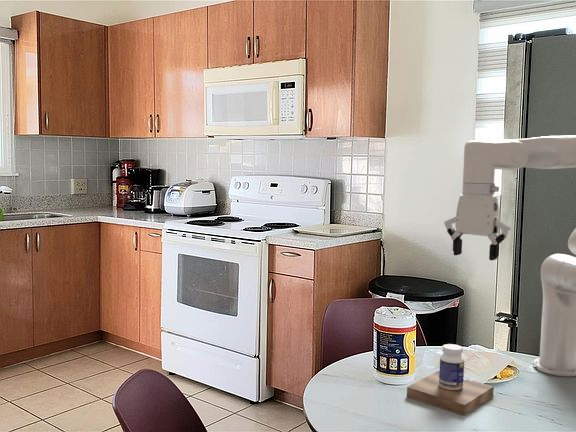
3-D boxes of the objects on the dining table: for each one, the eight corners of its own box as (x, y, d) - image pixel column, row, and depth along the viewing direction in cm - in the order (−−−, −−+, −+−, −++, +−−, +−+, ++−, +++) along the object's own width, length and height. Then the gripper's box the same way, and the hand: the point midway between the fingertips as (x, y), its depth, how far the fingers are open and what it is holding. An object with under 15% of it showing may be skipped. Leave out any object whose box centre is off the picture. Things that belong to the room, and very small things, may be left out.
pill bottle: (464, 392, 149) (465, 351, 148) (439, 390, 150) (440, 349, 149) (462, 383, 154) (463, 343, 153) (438, 381, 155) (439, 342, 154)
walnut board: (437, 380, 163) (438, 370, 163) (493, 396, 153) (493, 386, 153) (406, 396, 152) (407, 386, 152) (464, 415, 142) (464, 404, 142)
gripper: (517, 191, 155) (514, 259, 157) (453, 187, 167) (451, 251, 169) (505, 193, 150) (501, 263, 152) (439, 188, 161) (437, 254, 163)
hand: (474, 257), depth 160 cm, fingers open, 9 cm apart
